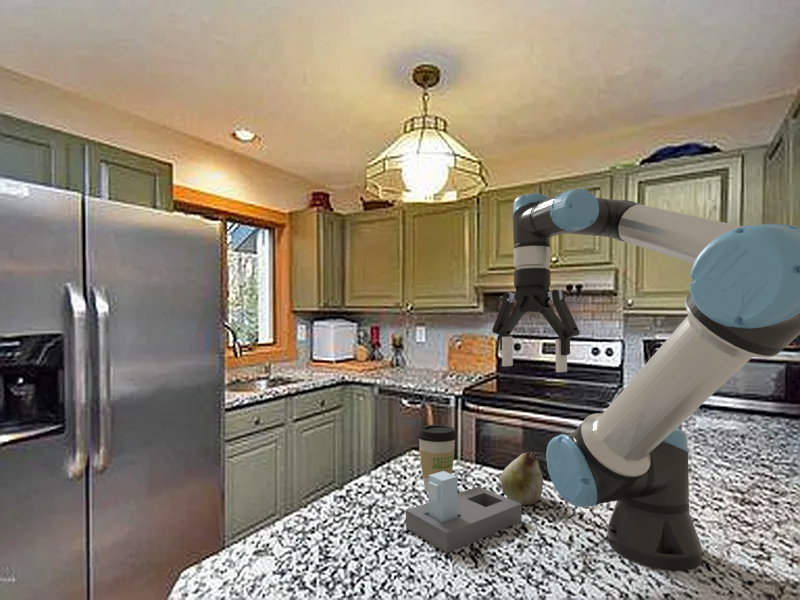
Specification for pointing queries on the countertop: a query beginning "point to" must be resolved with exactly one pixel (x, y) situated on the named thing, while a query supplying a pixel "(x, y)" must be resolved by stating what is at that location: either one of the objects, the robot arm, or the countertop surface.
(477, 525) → the socket panel
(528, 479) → the fruit
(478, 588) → the countertop surface
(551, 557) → the countertop surface
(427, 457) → the coffee cup
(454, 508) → the plug
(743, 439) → the countertop surface
